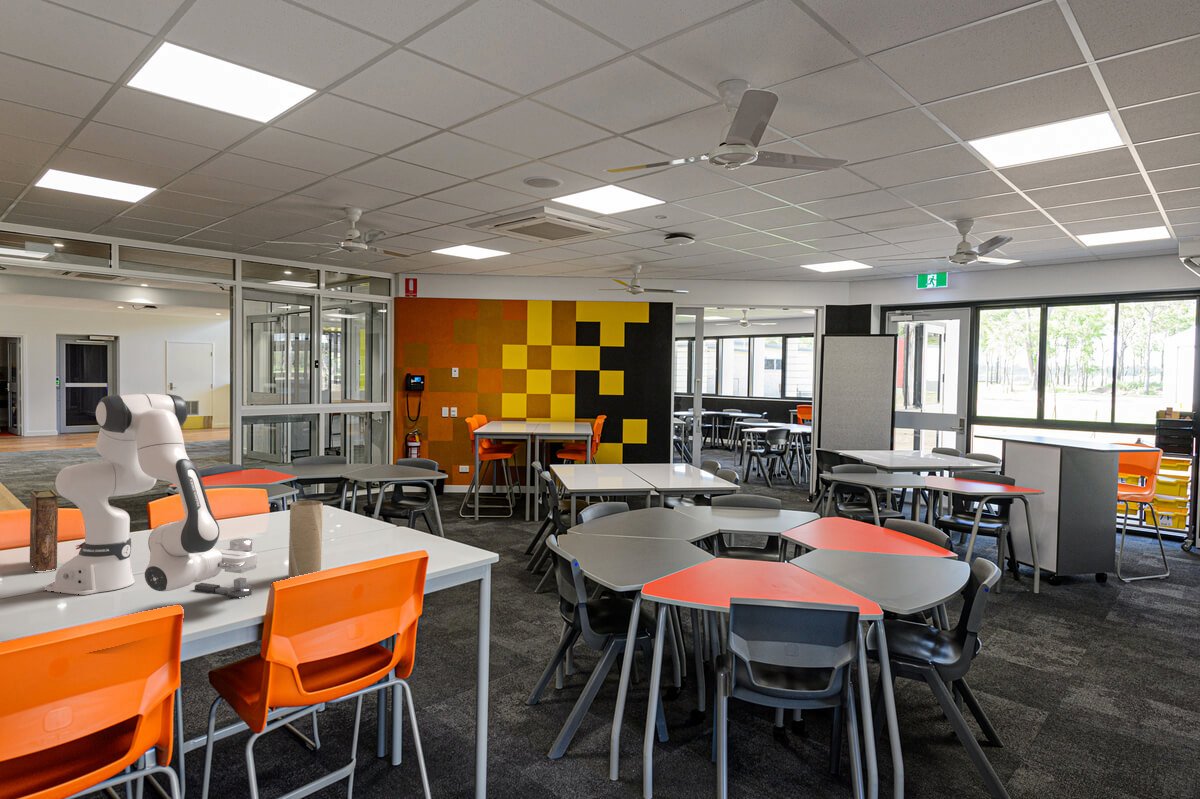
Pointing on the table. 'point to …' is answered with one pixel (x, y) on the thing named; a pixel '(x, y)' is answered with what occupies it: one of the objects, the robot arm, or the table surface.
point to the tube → (305, 537)
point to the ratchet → (233, 592)
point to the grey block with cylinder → (241, 545)
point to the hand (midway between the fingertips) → (243, 551)
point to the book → (43, 530)
